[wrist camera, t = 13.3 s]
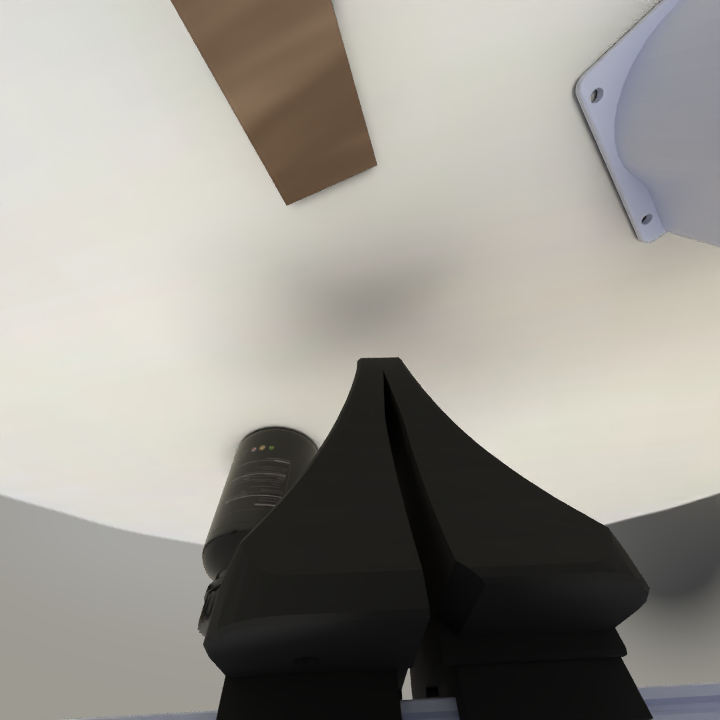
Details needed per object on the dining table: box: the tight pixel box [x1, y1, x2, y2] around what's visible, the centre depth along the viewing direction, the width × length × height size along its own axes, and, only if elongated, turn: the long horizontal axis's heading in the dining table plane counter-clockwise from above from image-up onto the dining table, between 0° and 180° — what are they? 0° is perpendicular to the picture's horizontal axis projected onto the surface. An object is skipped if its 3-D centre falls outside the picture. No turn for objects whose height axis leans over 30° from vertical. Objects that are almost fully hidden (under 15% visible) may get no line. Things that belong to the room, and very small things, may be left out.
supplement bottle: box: [198, 428, 318, 636], centre depth 22 cm, size 7×7×12 cm
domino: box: [171, 0, 377, 205], centre depth 12 cm, size 2×4×7 cm
